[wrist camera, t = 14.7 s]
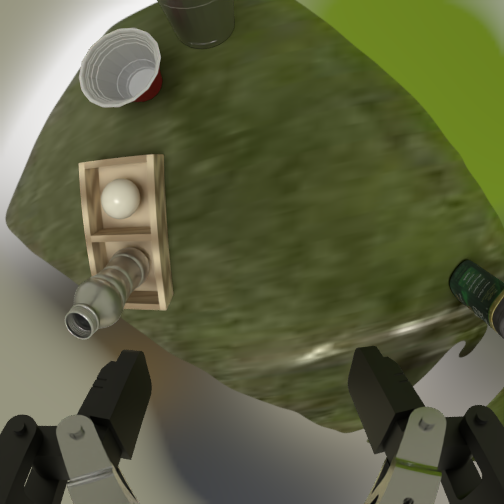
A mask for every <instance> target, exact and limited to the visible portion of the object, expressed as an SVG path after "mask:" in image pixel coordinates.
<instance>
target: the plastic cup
mask: <svg viewBox="0 0 504 504" xmlns="http://www.w3.org/2000/svg"><path fill="white" fill-rule="evenodd" d="M160 60H161V55H160V51H159V47H158V43H157V42H156V41H155V40H154V39H153V38H152V36H151V35H150V34H149V33H147V32H145V31H142V30H139V29H136V28H125V29H118V30H115V31H113V32H111V33H108V34H106V35H104V36H103V37H101V38H100V39H99V40H98V41H97V42H96V43H95V44H94V45H93V46H91V48H90V49H89V51H88V52H87V54H86V56H85V58H84V59H83V61H82V64H81V69H80V74H79V79H80V84H81V89H82V92H83V93H84V94H85V96H86V97H87V98H88V99H89V101H90V102H92V103H95V104H97V105H99V106H101V107H120V106H122V105H125V104H127V103H130V102H144V101H147V100H150V99H152V98H153V97H154V96H156V95H157V94H158V92H159V91H160V89H161V86H162V76H161V73H160V68H159V65H160Z"/></svg>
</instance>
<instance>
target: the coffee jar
mask: <svg viewBox="0 0 504 504" xmlns="http://www.w3.org/2000/svg"><path fill="white" fill-rule="evenodd" d="M450 287H451V290H452V292H453V294H454V295H455V297H456V298H457V299H458V300H459V301H460V302H462V303H463V304H464V305H465V306H467V307H468V308H469V309H470V310H472V311H473V312H474V313H475V314H477V315H478V316H479V317H480V318H481V319H482V320H484V321H485V322H486V323H487V324H488V325H489V326H490V327H491V328H492V329H494V330H495V331H496V332H497V333H498V334H499V335H500V336H502V337H503V338H504V283H503V282H502V281H500V280H499V279H497V278H496V277H494V276H493V275H491V274H490V273H488V272H487V271H485V270H484V269H483V268H481V267H480V266H478V265H477V264H475V263H473V262H472V261H470V260H466V261H464V262H463V263H461V264H460V265H459V266H458V267H457V268H456V270H455V271H454V273H453V275H452V277H451V280H450Z"/></svg>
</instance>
